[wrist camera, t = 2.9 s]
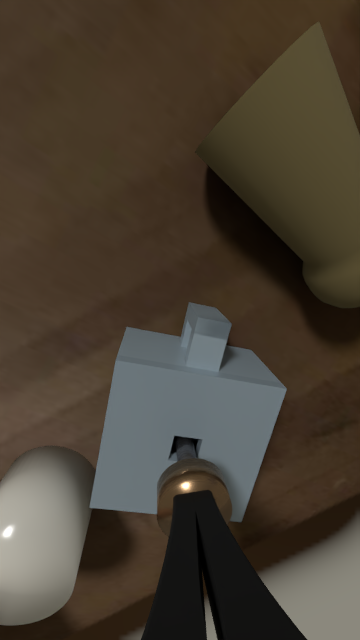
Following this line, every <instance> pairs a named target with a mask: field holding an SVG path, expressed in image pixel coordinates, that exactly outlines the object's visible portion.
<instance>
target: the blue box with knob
mask: <svg viewBox="0 0 360 640" xmlns="http://www.w3.org/2000/svg"><path fill="white" fill-rule="evenodd" d="M230 328H231V323H230V322H229V321H228V320H227V319H226V318H225V317H224V316H223V315H222V313H221V312H220V311H219V310H218V309H217V308H214V307H209V306H204V305H199V304H195V303H190V302H189V305H188V309H187V313H186V317H185V322H184V326H183V330H182V335H181V337H178V336H173V335H167V334H162V333H157V332H151V331H146V330H140V329H135V328H130V327H127V328H126V331H125V334H124V337H123V340H122V343H121V346H120V349H119V352H118V355H117V358H116V362H115V368H114V374H113V379H112V385H111V390H110V396H109V401H108V407H107V412H106V418H105V424H104V429H103V435H102V440H101V446H100V451H99V457H98V462H97V468H96V474H95V479H94V485H93V490H92V496H91V501H90V507H89V508H97V509H108V510H119V511H129V512H140V513H150V514H157V483H158V480H159V478H160V476H161V475H162V473H163V472H164V471H165V470H166V469H167V468H168V467H169V466H171V465H172V464H174V463H176V462H177V455H176V445H175V436H181V437H188V438H193V443H194V448H195V453H196V458H199V459H204V460H207V461H209V462H212V463H213V464H215V465H216V466H217V467H218V468H219V469H220V470H221V472H222V474H223V476H224V479H225V483H226V486H227V489H228V493H229V496H230V499H231V503H232V516H231V519H230V521H235V522H242V519H243V516H244V513H245V510H246V507H247V504H248V501H249V498H250V495H251V492H252V489H253V486H254V483H255V481H256V478H257V475H258V472H259V469H260V466H261V463H262V460H263V457H264V454H265V451H266V448H267V445H268V442H269V440H270V437H271V434H272V431H273V428H274V425H275V422H276V419H277V416H278V413H279V410H280V407H281V404H282V401H283V399H284V396H285V393H286V390H287V389H286V387H285V386H284V385H283V384H282V383H281V382H280V381H279V380H278V379H277V378H276V377H275V375H274V374H273V373H272V372H271V371H270V370H269V369H268V368H267V367H266V366H265V365H264V363H263V362H262V361H261V360H260V359H259V358H258V357H257V356H256V355H255V354H254V353H253V351H252V350H248V349H243V348H238V347H232V346H227V345H226V343H227V339H228V335H229V332H230Z"/></svg>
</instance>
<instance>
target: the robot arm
mask: <svg viewBox="0 0 360 640" xmlns="http://www.w3.org/2000/svg"><path fill="white" fill-rule="evenodd" d="M202 571H203V576H204V580H205V585H206V589H207V594H208V598H209V603H210V607H211V612H212V616H213V621H214V625H215V630H216V634H217V639H218V640H307V639H306V638H305V636H304V635H303V634H302V633H301V632H300V631H299V629H298V628H297V627H296V626H295V624H294V623H293V622H292V621H291V619H290V618H289V617H288V615H287V614H286V613H285V612H284V610H283V609H282V608H281V606H280V605H279V604H278V602H277V601H276V600H275V598H274V597H273V596H272V594H271V593H270V592H269V590H268V589H267V587H266V586H265V585H264V583H263V582H262V580H261V579H260V577H259V576H258V575H257V573H256V571H255V570H254V568H253V567H252V566H251V564H250V562H249V561H248V559H247V558H246V556H245V555H244V553H243V551H242V550H241V548H240V546H239V545H238V543H237V541H236V540H235V538H234V536H233V535H232V533H231V531H230V529H229V528H228V526H227V524H226V522H225V520H224V518H223V516H222V514H221V512H220V510H219V508H218V506H217V504H216V502H215V499H214V497H213V494H212V492H211V491H210V490H203V491H197V492H191V493H184V494H178V495H175V496H174V497H173V513H172V522H171V528H170V534H169V539H168V544H167V549H166V554H165V559H164V563H163V567H162V571H161V575H160V579H159V583H158V587H157V590H156V594H155V597H154V601H153V604H152V608H151V611H150V614H149V617H148V620H147V623H146V627H145V630H144V633H143V636H142V638H141V640H207V635H206V621H205V607H204V593H203V580H202Z"/></svg>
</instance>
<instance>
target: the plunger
mask: <svg viewBox="0 0 360 640" xmlns="http://www.w3.org/2000/svg"><path fill="white" fill-rule="evenodd" d="M175 445H176V455H177V462H176V463H174V464H172V465H171V466H169V467H168V468H167V469H166V470H165V471H164V472H163V473H162V475H161V476H160V478H159V480H158V483H157V520H158V524H159V526H160V528H161V530H162V531H163V532H164V533H165V534H166V535H167V536H168V537H169V534H170V528H171V522H172V513H173V497H174V496H175V495H178V494H184V493H191V492H197V491H203V490H210V491H211V492H212V494H213V497H214V499H215V502H216V504H217V506H218V508H219V510H220V512H221V514H222V516H223V518H224V520H225V522H226V524H227V525H228V523H229V521H230V519H231V516H232V503H231V499H230V496H229V493H228V489H227V486H226V483H225V479H224V476H223V474H222V472H221V470H220V469H219V468H218V467H217V466H216V465H215V464H213V463H212V462H209V461H207V460H204V459H199V458H196V453H195V448H194V443H193V438H188V437H181V436H175Z"/></svg>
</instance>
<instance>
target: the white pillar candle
mask: <svg viewBox="0 0 360 640" xmlns="http://www.w3.org/2000/svg"><path fill="white" fill-rule="evenodd" d="M95 474H96V472H95V469H94V468H93V466H92V464H91V463H90V462H89V461H88V460H87V459H86V458H85V457H84V456H82V455H81V454H79V453H78V452H76V451H74V450H71V449H68V448H65V447H60V446H43V447H38V448H34V449H31V450H29V451H27V452H25V453H23V454H22V455H20V456H19V457H18V458H17V459H16V460H15V461H14V462H13V464H12V465H11V467H10V468H9V470H8V471H7V473H6V474H5V476H4V477H3V479H2V481H1V482H0V625H23V624H29V623H33V622H37V621H39V620H42V619H45V618H47V617H49V616H51V615H52V614H54V613H55V612H57V611H58V610H59V609H61V608H62V607H63V606H64V605H65V604H66V602H67V601H68V600H69V598H70V596H71V594H72V592H73V589H74V585H75V581H76V576H77V572H78V568H79V563H80V559H81V555H82V551H83V546H84V542H85V538H86V533H87V529H88V525H89V521H90V516H91V512H92V508H89V507H90V501H91V496H92V490H93V485H94V479H95Z"/></svg>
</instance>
